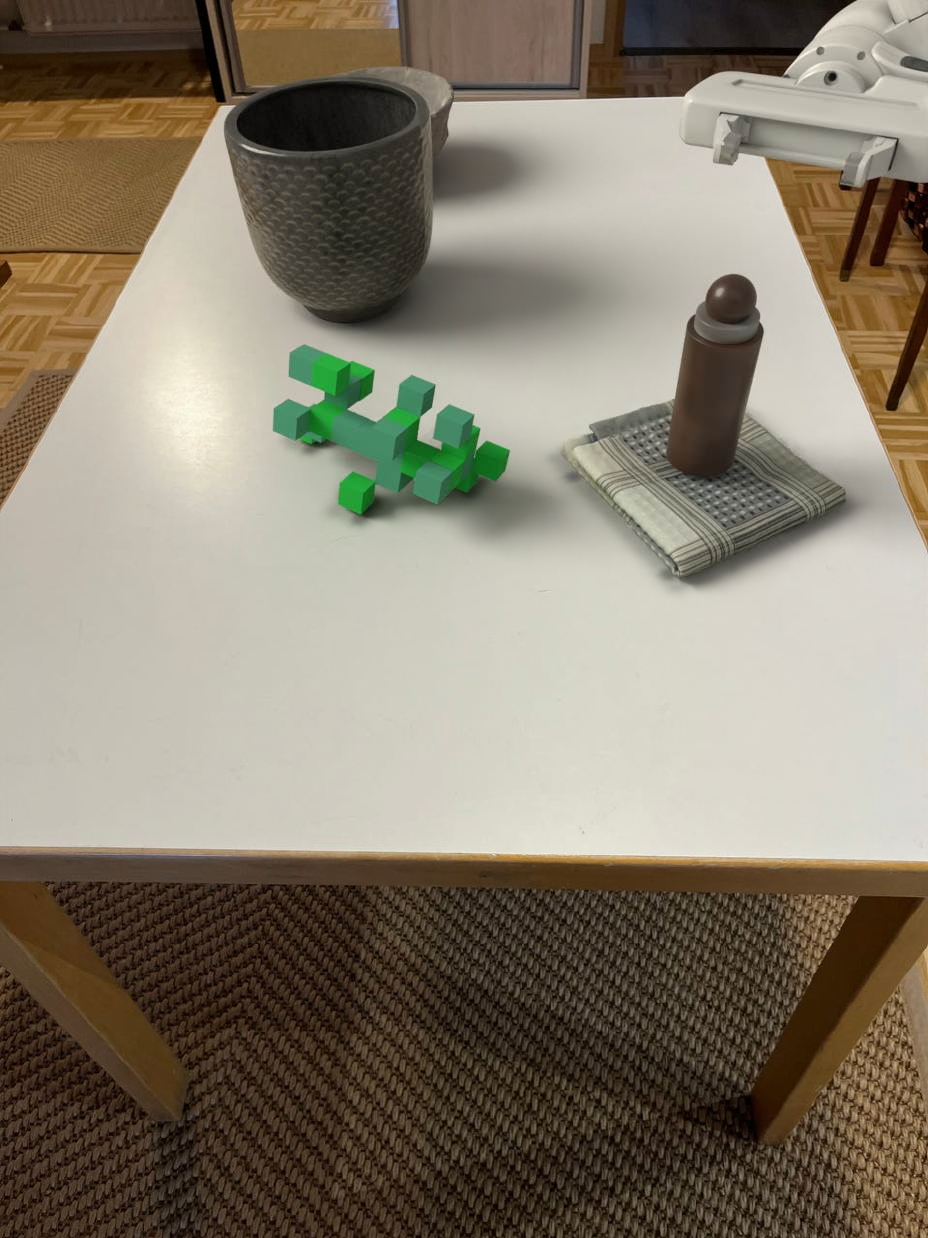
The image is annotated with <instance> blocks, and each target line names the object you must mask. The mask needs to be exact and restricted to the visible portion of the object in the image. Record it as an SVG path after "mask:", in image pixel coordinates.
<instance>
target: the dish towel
mask: <svg viewBox="0 0 928 1238" xmlns="http://www.w3.org/2000/svg"><path fill="white" fill-rule="evenodd" d="M674 400H675V398H673V399H670V400H667V401H664V402H662V403H656V404H651V405H648V406H643V407H640V408H638V409H636V410H633V411H629V412H626V413H623V414H621V415H617V416H614V417H610V418H605V419H602V420H598V421H594V422H592V423H589V424H588V428H589V429H590V431H592V433H588V434H583V435H580V436H578V437H576V438H575V437H574V438H569V439H568V440H566V441H565V442H563V444H562V449H561V450H560V453H561V455H562V456H563V457H564V458H565V459H566V461H568V463H569V464H570V465H571V466H572V467H573V469H574V470H575V471H576V472H577V474H578V475H579V476H580V477H581V478H583V479H584V480H585V482H586V483H587V484H589V485H590V486H591V487H592V489H594V490H595V491H596V493H598V494H599V496H601V498H603V499H604V501H606V503H607V504H608V505H609V506H611V508H613V509H614V510H615V511H616V513H618V515H620V516H621V517H622V519H623V520H625V522H626V523H627V524H628V525H629V527H630V528H631V530H633V531H634V533H636V534H637V535H638V537H639V538H640V539H641V540H642V541H643V542H644V543H645V545H647V546H648V547H649V548H650V550H652V552H654V554H655V555H657V556H658V558H659V559H660V560H661V561H662V562H663V563H664V564H665V565H666V567H668V568H669V570H670V571H671V573H672V575H673V576H674V577H675V578H683V577H687V576H690V575H691V574H694V573H697V572H699V571H702V570H703V569H707V568H708V567H710V566H713V565H715V564H717V563H719V562H721V561H723V560H725V559H728V558H731V557H733V556H734V555H737V554H739V553H741V552H744V551H746V550H748V549H751V548H753V547H755V546H757V545H759V544H761V543H763V542H767V541H768V540H770V539H772V538H774V537H776V536H778V535H781V534H783V533H786V532H788V531H791V530H792V529H795V528H797V527H799V526H801V525H803V524H806V523H808V522H810V521H812V520H813V521H814V520H815V519H817V518H819V517H821V516H824V515H825V514H828V513H829V512H831V511H833V510H834V509H837V508H839V507H841V506H843V505H845V504H846V503H847V495H846V491H847V490H846V489H845V488H844V487H843V486H842V485H839V484H837V483H836V482H834V481H833V480H831V479H829V478H828V477H826V476H825V475H823V474H822V473H820V472H819V471H818V470H816V469H815V468H813V467H812V466H811V465H810V464H808V463H807V462H805V461H804V460H803V459H802V458H801V457H799V456H797V455H796V454H794V452H793V451H791V450H790V449H788V448H787V447H786V446H785V445H784V444H783V443H782V442H780V440H778V439H777V438H776V437H775V436H774V435H773V434H772V433H771V432H770V431H768V430H767V429H766V428H765V427H764V426H762V425H761V424H760V423H758V422H757V421H756V420H754V419H752V418H751V417H750V416H749V415H748V414H747V413H745V415H744V419H743V424H742V428H741V432H740V436H739V440H738V445H737V449H736V453H735V457H734V461H733V464H732V466H731V467H730V468H729V469H728V470H727V471H725V472H724V473H722V474H719V475H716V476H711V477H697V476H692V475H688V474H685V473H683V472H680V471H679V470H677V469H676V468H674V467H673V466H672V465H671V464H670V463H669V461H668V459H667V457H666V448H667V442H668V436H669V430H670V424H671V418H672V412H673V406H674Z"/></svg>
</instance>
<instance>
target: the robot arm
mask: <svg viewBox="0 0 928 1238" xmlns="http://www.w3.org/2000/svg"><path fill="white" fill-rule="evenodd" d="M678 137H679V138H680V140H681V141H682V142H683V143H684V144H685V145H688V146H691V147H700V148H706V149H712V150H713V156H712V163H713V164H718V165H725V166H734V164H735V163H736V162H737V161H738V159H739V154H743V155H748V156H755V157H761V158H767V159H773V160H779V161H784V162H785V161H786V162H791V163H798V164H803V165H810V166H815V167H822V168H828V169H834V170H841V171H842V172H843V173H842V175H841V177H840V182H839V185H843V186H848V187H852V188H859V189H860V188H861V189H862V186H863V185H864V183H865V181H869V180H874V179H877V178H881V177H882V178H889V179H895V180H901V181H905V182H913V183H917V184H926V183H928V0H855V1H853V2H852V3H850V4H848V5H847V6H846V7H844V8H842V9H841V10H840V11H839V12H838V13H836V14H835V15H834V16H832V18H830V20H828V21H827V23H825V25H823V26H822V28H821V29H820V30H819V31H818V32H817V34H816V35H815V37H814V38H813V39H812V41H811V42H809V44H808V45H807V46H805V47H804V49H803V50H802V51H801V52H800V53H799V55H798V56H797V57H796V59H794V61H793V62H792V63H791V64H790V66H789V67H788V68H787V69H786V70H785V72H784V73H783V75H782V76H775V75H767V74H760V73H752V72H745V71H737V70H736V71H734V70H733V71H730V70H729V71H721V72H718V73H714V74H712V75H710V76H709V77H707V78H705V79H703V80H702V81H700V82H699V83H697V84H695V86H693V87H692V88H690V89H689V90H688V91H687V92H686V93H685V95H684V97H683V99H682V103H681V109H680V115H679V121H678Z"/></svg>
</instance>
